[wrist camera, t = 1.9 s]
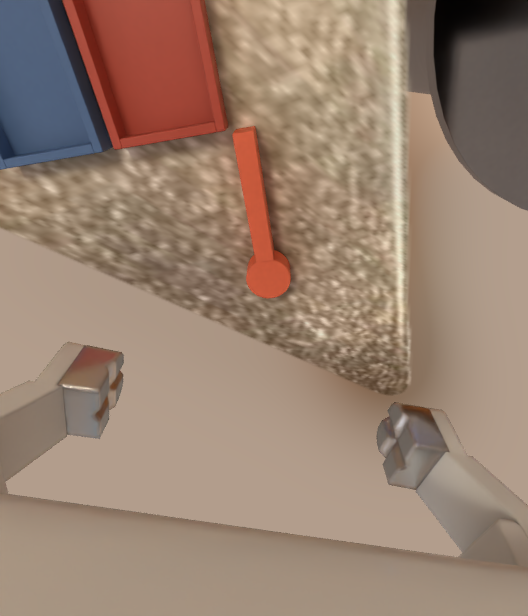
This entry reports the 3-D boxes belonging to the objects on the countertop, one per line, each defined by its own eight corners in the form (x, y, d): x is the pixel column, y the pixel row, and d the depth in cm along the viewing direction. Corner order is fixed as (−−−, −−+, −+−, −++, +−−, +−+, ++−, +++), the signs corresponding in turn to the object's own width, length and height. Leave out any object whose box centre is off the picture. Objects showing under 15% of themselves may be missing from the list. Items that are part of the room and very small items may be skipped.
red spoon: (220, 131, 26) (215, 136, 24) (270, 123, 25) (270, 127, 23) (251, 289, 33) (250, 303, 31) (292, 284, 32) (293, 298, 30)
